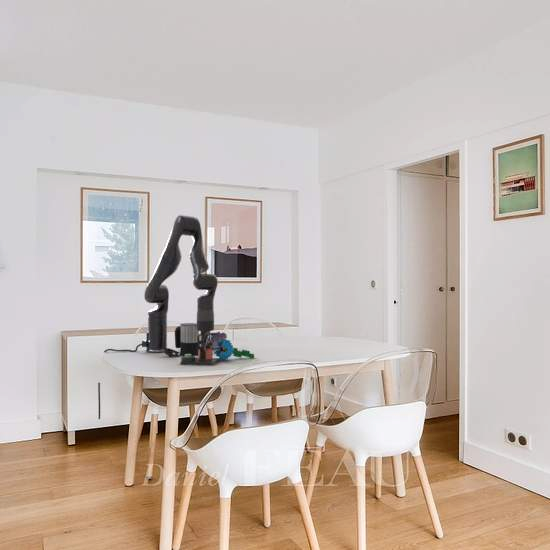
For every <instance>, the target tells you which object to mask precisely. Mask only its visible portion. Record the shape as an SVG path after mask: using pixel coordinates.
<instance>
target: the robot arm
mask: <svg viewBox="0 0 550 550" xmlns="http://www.w3.org/2000/svg"><path fill="white" fill-rule="evenodd" d="M182 236H187V237H188V236H189V237H191V238H192V240H193V243H192V247H191V249H190V252H189V260H190V263H191V266H192V274H193V275H192V277H193V278H192V284H193V287H194V288H195V289H196V290H198V291H206V292H205V294H203V295H200V296H199V295H198V297H197V300H196V302H197V303H196V304H197V305H196V306H197V307H196V308H197V310H196V324H197V330H198V331H199V334H200V336H198V350H200V359H206V351H205V350H206V348H211V346H212V343H213V333H214V332H213V331H214V330H215V311H214V310H215V309H214V308H215V307H214V303H215V301H214V300H215V295H216V292H217V288H218V284H219V283H218V282H219V280H218V277H217V275H216V274H214V273H206V272H207V271H209V268H210V266H209V261H208V258H207V256H206V252H205V247H204V241H203V240H204V239H203V231H202V225H201V221H200V219H199V218H198V217H197V216H193V215H187V214H179V215H178V216H177V217H176V218H175V220H174V222H173V225H172V228H171V231H170V235H169V238H168V240H167V243H166V244H165V245H166V246H165V248H164V250H163V252H162V254H161V257H160V258H159V261H158V264H157V266H156V268H155V270H154V273H153V275H152V277H151V278H150V280H149V282H148V284H147V286H146V287H145V290H144V295H143V297H144V301H145V302H146V303H147V304H156V306H155V307H154V308H153V309H150V310H149V311H148V312H147V332H146V338H145V339H144V340H142V341H141V343H139V344H138V345H136V347H135V349H134V350H132V349H114V348H107V349H105V350H104V351H103V353H108V352H109V351H111V352H130V353H135V352H137V351H138V348H139V347H141V348H146V350H145V351H146V353H147V352H149V353H164V349H165V348H168V312H169V301H170V299H169V298H170V292H169V288H168V286H167V285H165V284H163V283H164V282H165V281H167V280H168V279H169V278H170V277H171V276H173V274H175V273H176V272H177V270H178V268H179V267H180V263H181V261H182V252H181V248H180V239H181V237H182ZM97 394H98V395H97V396H98V420H101V382H98V383H97Z"/></svg>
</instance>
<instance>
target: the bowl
mask: <svg viewBox="0 0 550 550" xmlns="http://www.w3.org/2000/svg"><path fill="white" fill-rule="evenodd" d="M205 351H206V359H200V350H198V355H197V358H198V359H199V360H211V359H212V358H213V354H214V349H211V348H206V350H205Z"/></svg>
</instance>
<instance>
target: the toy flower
mask: <svg viewBox="0 0 550 550" xmlns="http://www.w3.org/2000/svg"><path fill="white" fill-rule="evenodd" d="M216 344H217V346H220V348H218V349H214V350H213V354H214V355H215V357H217V358H220V361H227V360H228V359H229V358H231V356H233V357H236V358H242V357H246V358H251V359H255V354H254V353H251V351H250V350H246V349H241V350H238V349H239V348H237V347H234V345H233V344H232V342H231V340H229V339H226V340H225V339H223V341H221V340H220V341H219V342H216Z"/></svg>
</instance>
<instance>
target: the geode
mask: <svg viewBox="0 0 550 550" xmlns="http://www.w3.org/2000/svg"><path fill="white" fill-rule="evenodd" d="M212 333H213V343H212V346H211V349H213V350H218V349H219V348H220V346H217V344H216V342H219V341H220V340H221V341H223V339H225V340H227V338H228V337H227V336H228V335H227V334H226V332H220V331H217V332H212ZM199 336H200V333H199Z"/></svg>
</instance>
